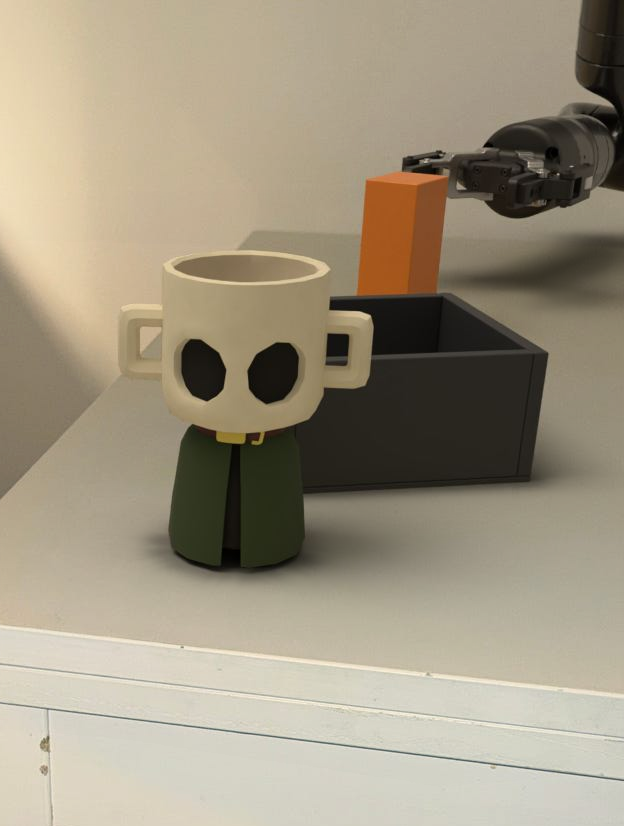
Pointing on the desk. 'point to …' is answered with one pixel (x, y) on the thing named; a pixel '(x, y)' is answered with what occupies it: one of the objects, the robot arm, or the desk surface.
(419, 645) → the desk surface
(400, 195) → the block
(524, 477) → the bin
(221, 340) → the character mug
